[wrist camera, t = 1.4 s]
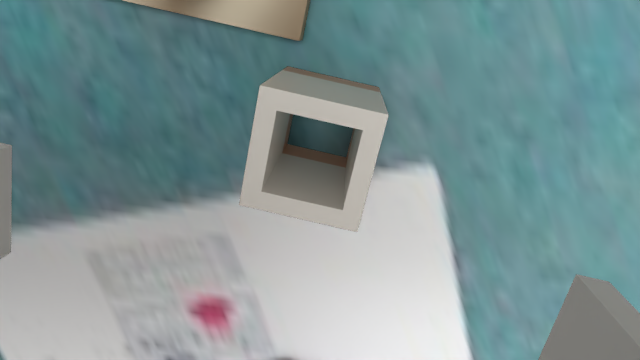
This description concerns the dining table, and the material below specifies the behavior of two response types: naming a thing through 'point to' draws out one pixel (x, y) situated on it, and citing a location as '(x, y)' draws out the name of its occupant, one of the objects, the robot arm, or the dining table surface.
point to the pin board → (244, 13)
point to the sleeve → (310, 165)
